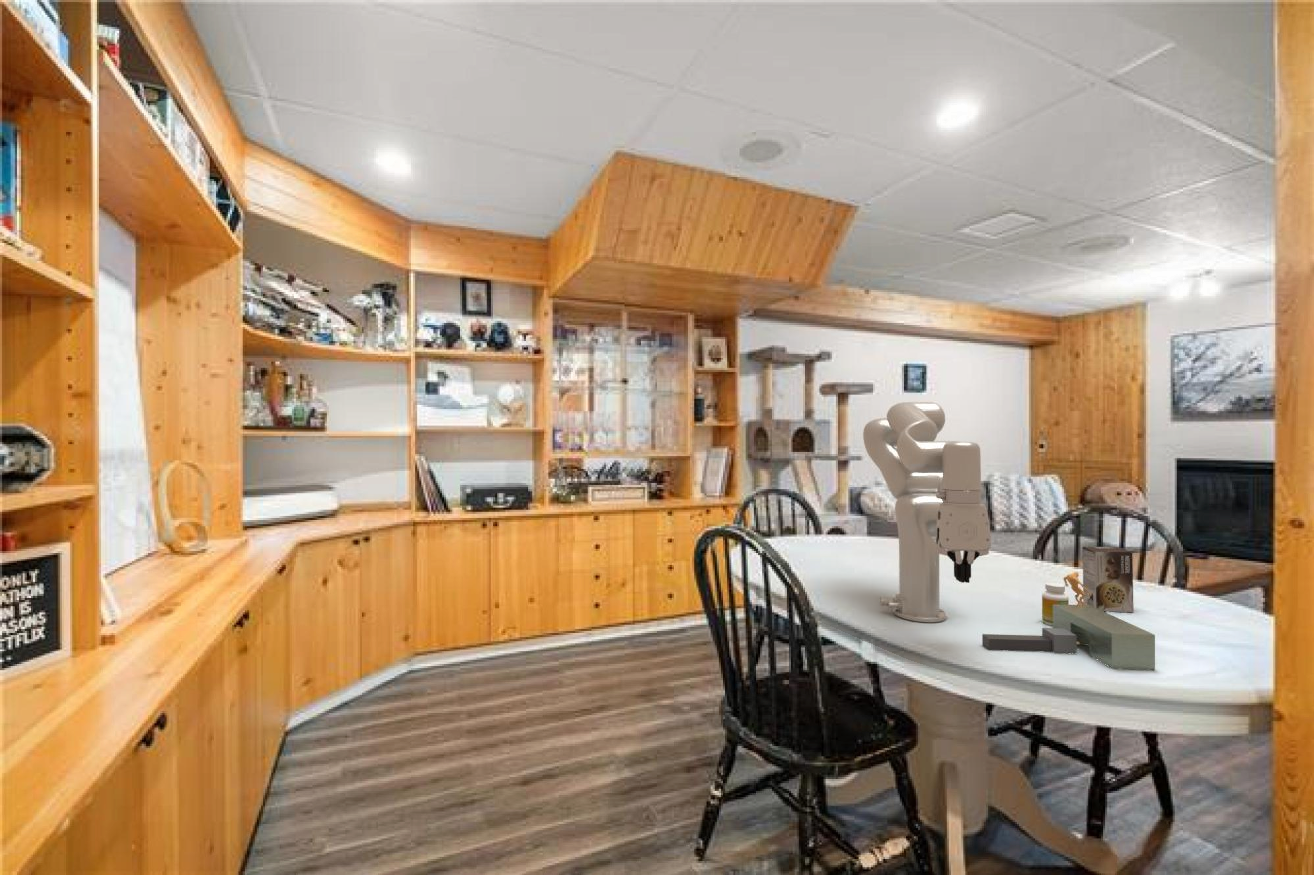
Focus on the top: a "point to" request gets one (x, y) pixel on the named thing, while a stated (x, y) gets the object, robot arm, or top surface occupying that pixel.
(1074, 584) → the figurine
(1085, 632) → the notched grey-green block
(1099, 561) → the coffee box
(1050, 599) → the supplement bottle
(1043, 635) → the long grey beam
